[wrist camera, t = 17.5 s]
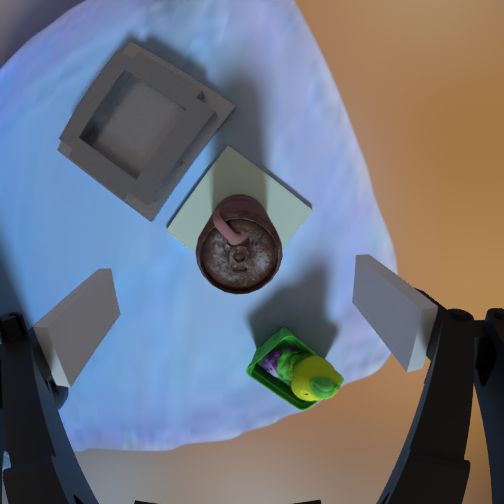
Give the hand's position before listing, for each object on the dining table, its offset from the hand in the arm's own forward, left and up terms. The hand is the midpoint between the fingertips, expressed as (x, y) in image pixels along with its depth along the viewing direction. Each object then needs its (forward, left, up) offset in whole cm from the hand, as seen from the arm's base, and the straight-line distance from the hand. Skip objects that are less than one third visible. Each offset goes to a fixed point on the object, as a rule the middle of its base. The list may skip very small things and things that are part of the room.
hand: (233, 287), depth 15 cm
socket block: (+2, +16, -20) cm, 25 cm away
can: (0, 0, -19) cm, 19 cm away
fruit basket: (-10, -17, -20) cm, 28 cm away
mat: (0, 0, -20) cm, 20 cm away
